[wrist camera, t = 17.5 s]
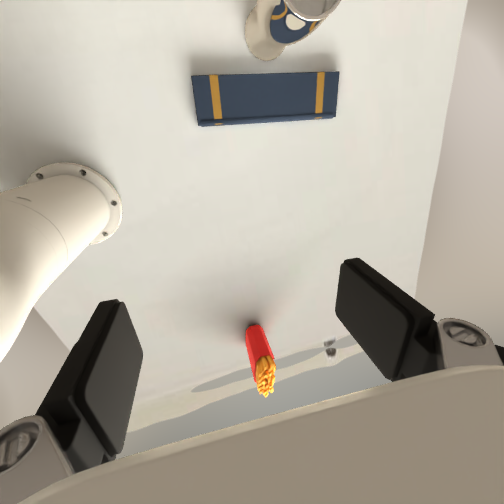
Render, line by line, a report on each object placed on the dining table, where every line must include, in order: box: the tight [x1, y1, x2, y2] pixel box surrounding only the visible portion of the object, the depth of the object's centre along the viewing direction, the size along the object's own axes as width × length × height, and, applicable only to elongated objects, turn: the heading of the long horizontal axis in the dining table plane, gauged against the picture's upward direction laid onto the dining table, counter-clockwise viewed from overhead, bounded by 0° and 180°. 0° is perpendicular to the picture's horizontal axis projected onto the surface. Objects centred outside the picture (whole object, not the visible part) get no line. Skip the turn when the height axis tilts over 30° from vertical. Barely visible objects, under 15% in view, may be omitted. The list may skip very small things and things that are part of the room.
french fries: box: [246, 325, 276, 397], centre depth 52 cm, size 9×4×13 cm, turn 179°
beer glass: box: [245, 0, 341, 61], centre depth 26 cm, size 7×7×15 cm
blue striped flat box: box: [191, 72, 339, 127], centre depth 36 cm, size 22×6×1 cm, turn 94°
